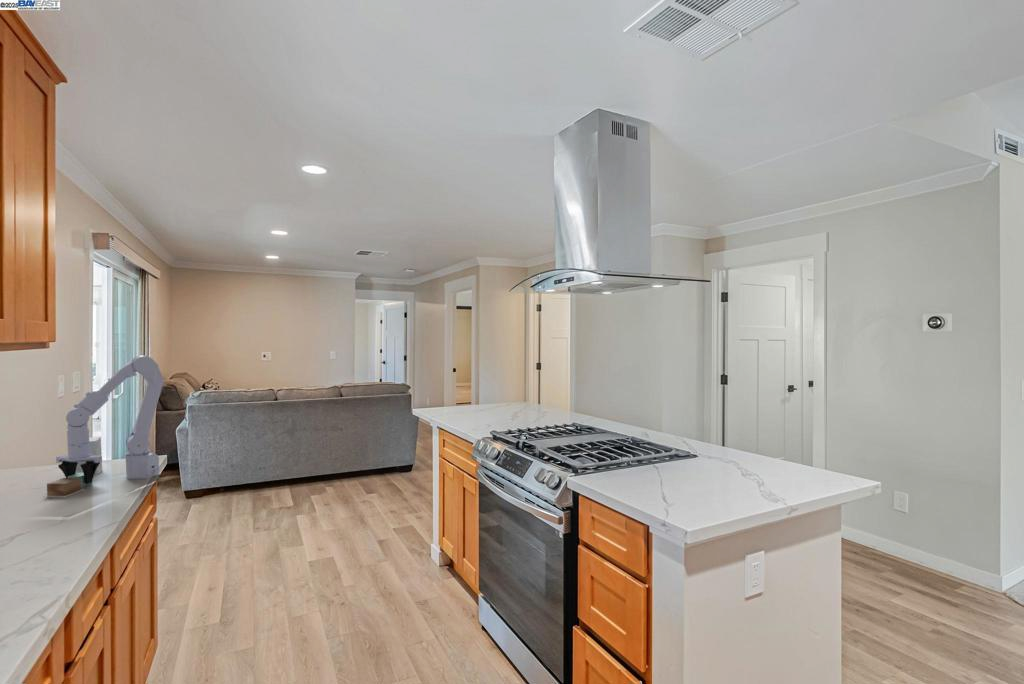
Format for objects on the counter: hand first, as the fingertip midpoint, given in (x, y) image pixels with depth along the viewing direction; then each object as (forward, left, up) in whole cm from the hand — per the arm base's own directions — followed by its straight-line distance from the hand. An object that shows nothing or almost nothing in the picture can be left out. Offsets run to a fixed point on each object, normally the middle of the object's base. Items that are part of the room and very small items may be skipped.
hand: (80, 483), depth 177 cm
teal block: (0, 0, -2) cm, 2 cm away
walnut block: (-2, +8, -1) cm, 8 cm away
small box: (+10, -15, -2) cm, 18 cm away
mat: (-2, +8, -1) cm, 8 cm away
